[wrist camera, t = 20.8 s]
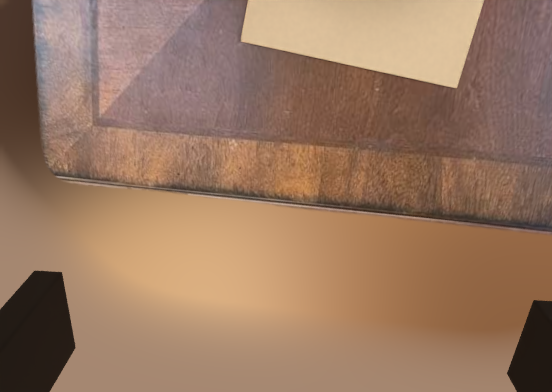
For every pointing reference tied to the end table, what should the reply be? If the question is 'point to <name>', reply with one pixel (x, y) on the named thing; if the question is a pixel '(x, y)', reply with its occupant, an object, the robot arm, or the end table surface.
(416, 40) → the napkin
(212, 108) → the end table surface
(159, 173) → the end table surface
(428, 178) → the end table surface
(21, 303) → the robot arm
